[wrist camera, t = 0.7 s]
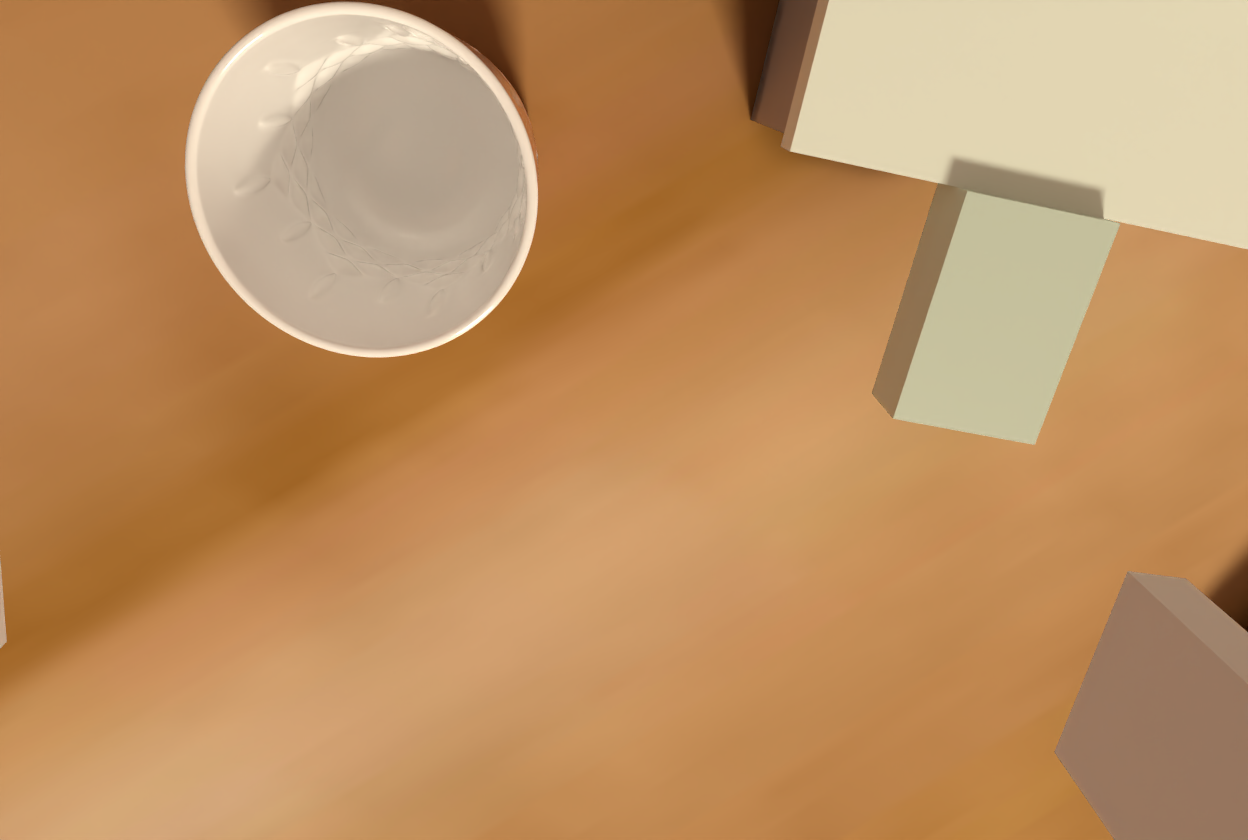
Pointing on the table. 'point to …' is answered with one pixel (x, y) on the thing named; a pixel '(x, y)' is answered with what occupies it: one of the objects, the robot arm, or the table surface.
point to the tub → (783, 62)
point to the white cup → (362, 178)
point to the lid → (1025, 170)
